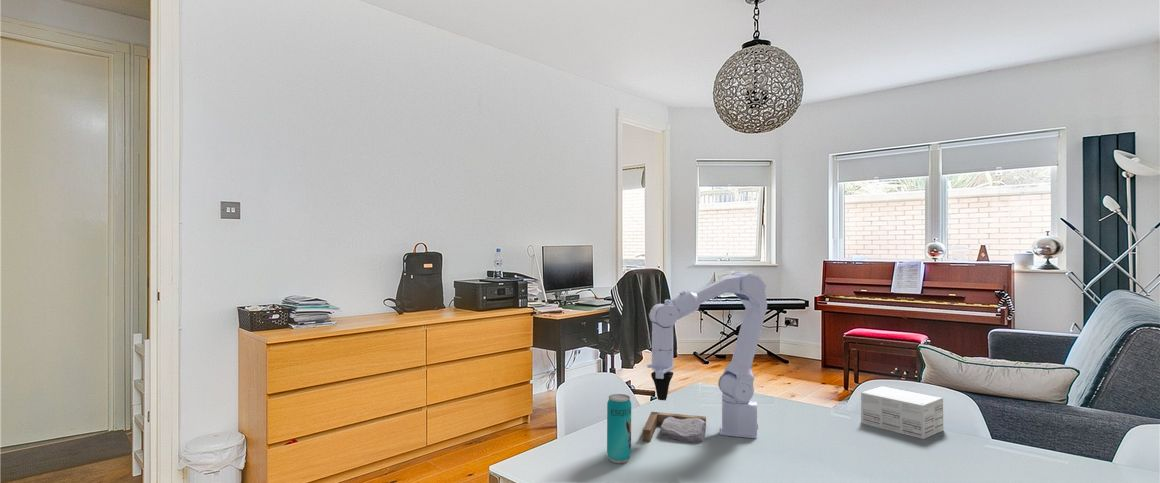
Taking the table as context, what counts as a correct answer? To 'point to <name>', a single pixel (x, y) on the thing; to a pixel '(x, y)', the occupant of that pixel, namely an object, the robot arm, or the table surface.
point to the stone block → (684, 429)
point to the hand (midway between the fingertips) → (662, 399)
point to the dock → (658, 419)
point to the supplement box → (902, 411)
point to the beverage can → (619, 428)
